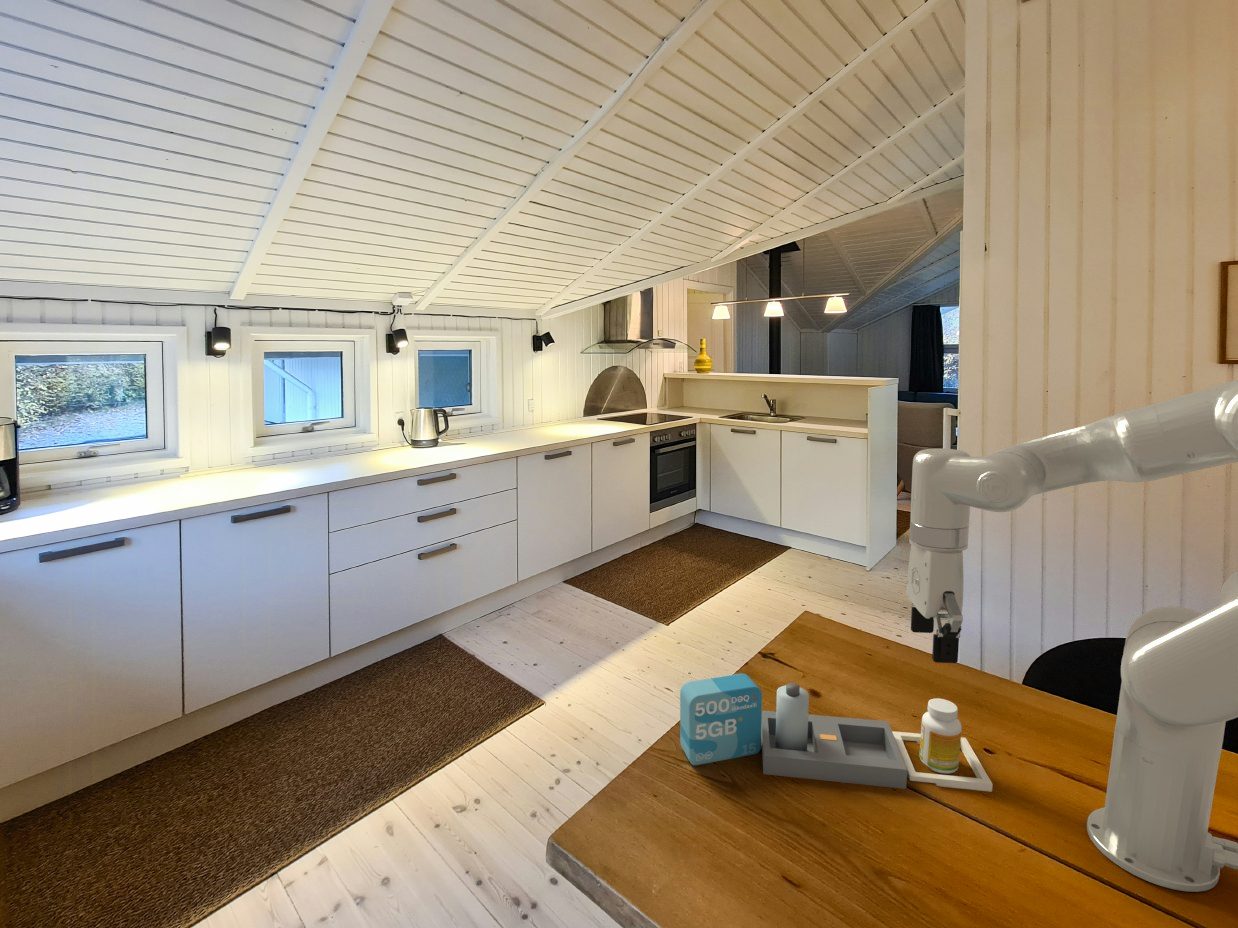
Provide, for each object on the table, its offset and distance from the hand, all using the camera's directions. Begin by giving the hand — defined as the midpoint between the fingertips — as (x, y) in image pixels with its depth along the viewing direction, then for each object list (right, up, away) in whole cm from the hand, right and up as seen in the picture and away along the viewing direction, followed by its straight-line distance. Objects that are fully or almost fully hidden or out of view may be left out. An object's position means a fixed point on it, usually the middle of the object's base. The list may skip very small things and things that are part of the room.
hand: (932, 646), depth 92 cm
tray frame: (+2, -19, +3) cm, 19 cm away
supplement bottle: (+2, -19, +3) cm, 19 cm away
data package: (-31, -19, +6) cm, 37 cm away
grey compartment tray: (-14, -19, +5) cm, 24 cm away
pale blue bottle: (-20, -18, +6) cm, 27 cm away
